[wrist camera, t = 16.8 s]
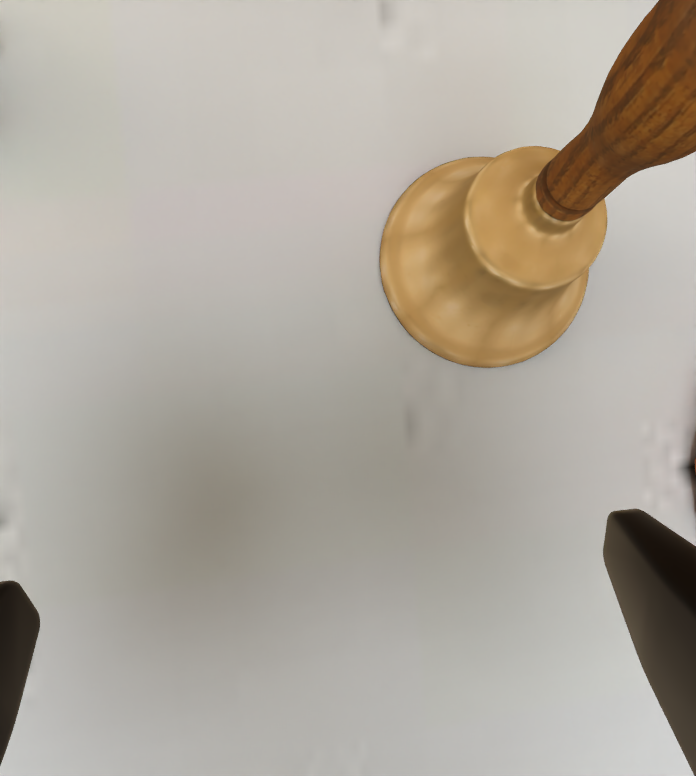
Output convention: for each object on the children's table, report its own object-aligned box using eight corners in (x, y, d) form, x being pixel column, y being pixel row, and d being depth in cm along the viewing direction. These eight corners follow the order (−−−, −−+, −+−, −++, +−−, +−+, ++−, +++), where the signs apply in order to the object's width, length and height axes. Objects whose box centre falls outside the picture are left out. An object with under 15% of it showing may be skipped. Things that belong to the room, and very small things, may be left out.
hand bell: (418, 395, 22) (730, 330, 6) (351, 192, 22) (479, -393, 6) (613, 331, 23) (1349, 121, 7) (546, 135, 23) (1104, -512, 7)
